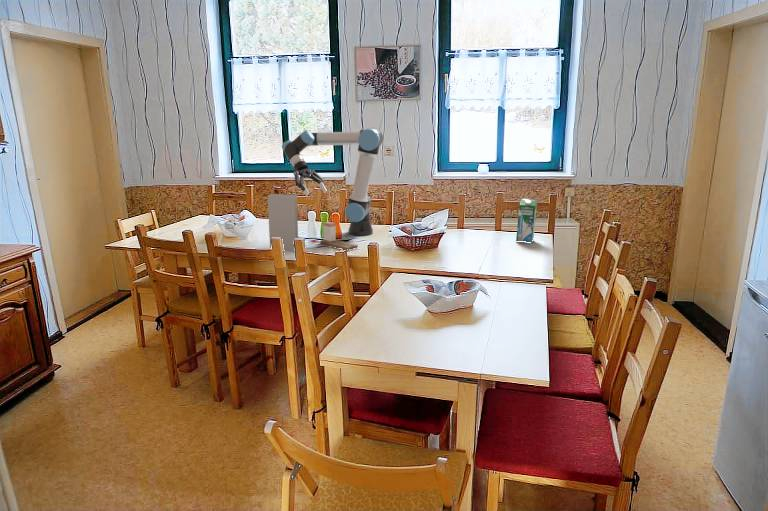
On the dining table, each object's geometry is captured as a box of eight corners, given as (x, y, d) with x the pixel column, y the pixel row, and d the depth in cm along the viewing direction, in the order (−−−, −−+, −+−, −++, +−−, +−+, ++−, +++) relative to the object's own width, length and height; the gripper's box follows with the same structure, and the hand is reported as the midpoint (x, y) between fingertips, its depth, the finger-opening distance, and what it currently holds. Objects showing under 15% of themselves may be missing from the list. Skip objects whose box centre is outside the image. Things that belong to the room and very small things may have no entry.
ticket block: (330, 241, 296) (330, 238, 295) (357, 248, 282) (357, 244, 281) (320, 244, 290) (320, 240, 289) (347, 251, 276) (347, 247, 276)
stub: (328, 238, 293) (328, 221, 291) (335, 240, 290) (335, 223, 287) (323, 239, 290) (323, 222, 288) (330, 241, 287) (330, 224, 284)
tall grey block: (298, 249, 279) (296, 194, 270) (295, 251, 273) (294, 196, 265) (273, 248, 280) (270, 193, 272) (270, 250, 275) (267, 195, 266)
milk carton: (515, 242, 302) (519, 200, 295) (518, 238, 310) (521, 198, 303) (531, 244, 299) (535, 201, 292) (533, 240, 307) (537, 199, 300)
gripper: (312, 167, 306) (329, 195, 301) (279, 170, 287) (297, 199, 282) (318, 158, 301) (336, 187, 296) (285, 161, 283) (303, 191, 278)
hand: (317, 193), depth 289 cm, fingers open, 13 cm apart
